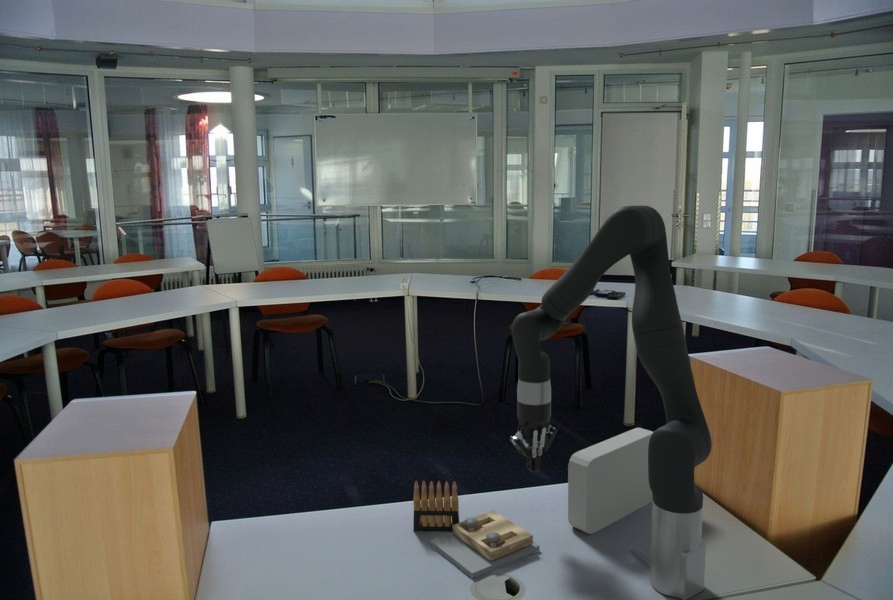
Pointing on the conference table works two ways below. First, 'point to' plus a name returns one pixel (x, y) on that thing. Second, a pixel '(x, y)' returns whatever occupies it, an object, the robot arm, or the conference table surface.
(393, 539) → the conference table surface
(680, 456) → the robot arm
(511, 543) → the beech panel
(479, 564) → the board
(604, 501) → the rounded white slab
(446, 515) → the ammunition clip
